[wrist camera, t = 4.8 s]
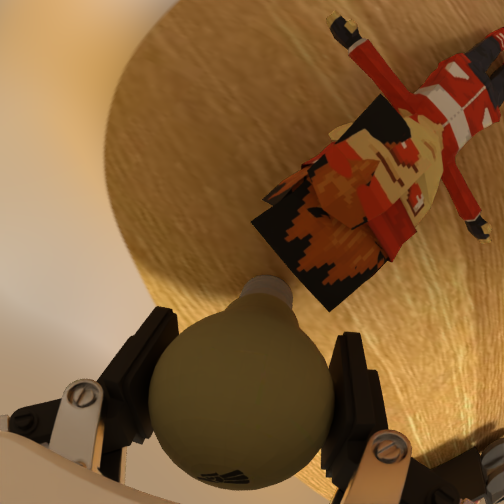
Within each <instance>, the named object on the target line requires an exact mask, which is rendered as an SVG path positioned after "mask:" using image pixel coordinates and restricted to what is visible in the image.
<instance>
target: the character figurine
mask: <svg viewBox="0 0 504 504" xmlns="http://www.w3.org/2000/svg"><path fill="white" fill-rule="evenodd" d="M503 463H504V438H501V439H498V440H496V441H494V442H492V443H491V444H490V445H488V446H487V447H486V448H485V449H484V451H483V452H482V454H481V456H480V454H479V452H478V450H476V448H475V447H474V448H472V449H470V450H468V451H467V452H465V453H463V454H461V455H459V456H457V457H456V458H454V459H452V460H450V461H448V462H446V463H444V464H442V465H440V466H438V467H436V468H434V469H431V471H433V472H434V473H436V474H437V475H439V476H440V477H442V478H443V479H445V480H446V481H448V482H450V483H451V484H452V485H454V486H455V487H456V488H457V490H458V492H459V495H460V498H461V499H462V500H464V499H466V498H467V499H469V500H471V501H473V502H475V503H477V504H479V503H480V501H481V498H483V497H484V498H485V499H486V501H487V503H488V504H493V500H492V495H493V494H494V493H496V492H499V491H501V490H504V465H503V466H501V467H500V468H498V469H497V470H495V471H493V472H491V473H490V474H488V475H487V472H486V469H493V468H496V467H498V466H500V465H502V464H503Z"/></svg>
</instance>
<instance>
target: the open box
mask: <svg viewBox="0 0 504 504" xmlns="http://www.w3.org/2000/svg"><path fill="white" fill-rule="evenodd" d="M503 465H504V463H503V464H502V465H500V466H498V467H496V468H493V469H486V472H487V475H488V474H490V473H491V472H493V471H495V470H497V469H498V468H500V467H501V466H503ZM492 500H493V504H498V503H501V502H503V501H504V490H501V491H499V492H496V493H494V494H493V495H492ZM485 502H486V504H488V503H487V501H486V499H485Z"/></svg>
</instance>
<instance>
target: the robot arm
mask: <svg viewBox="0 0 504 504" xmlns="http://www.w3.org/2000/svg"><path fill="white" fill-rule="evenodd" d="M178 335H179V331H178V321H177V315H176V313H173V311H172V309H170V308H165V307H159V306H157V307H155V309H154V310H153V311H152V313H151V314H150V315H149V316H148V318H147V319H146V320H145V322H144V323H143V324H142V325H141V327H140V328H139V330H138V331H137V332H136V334H135V335H133V336H131V337H129V339H128V340H127V341H126V342H125V344H124V345H123V346H122V348H121V349H120V350H119V352H118V353H117V354H116V356H115V357H114V358H113V360H112V361H111V362H110V364H109V365H108V367H107V368H106V369H105V370H104V372H103V373H102V375H101V376H100V377H99V379H98V380H97V381H94V380H91V379H80V380H76V381H74V382H72V383H71V384H69V385H68V386H67V387H66V389H65V391H64V393H63V396H62V398H61V399H57V400H53V401H49V402H44V403H40V404H36V405H32V406H27V407H23V408H20V409H18V410H16V411H15V412H14V413H13V414H12V416H11V417H9V416H8V415H3V416H0V504H180V503H175V502H172V501H169V500H166V499H163V498H159V497H156V496H153V495H150V494H147V493H145V492H141V491H139V490H136V489H133V488H131V487H128V486H125V471H126V454H127V452H126V451H127V446H130V445H131V443H132V441H133V442H136V443H139V444H143V442H144V440H145V438H147V439H149V438H150V437H151V435H152V433H153V431H154V430H153V428H152V425H151V420H150V414H149V407H148V397H149V386H150V381H151V377H152V374H153V371H154V369H155V366H156V364H157V362H158V360H159V359H160V357H161V355H162V354H163V352H164V351H165V349H166V348H167V347H168V346H169V344H170V343H171V342H172V341H173V340H174V339H175V338H176V337H177V336H178ZM329 372H330V375H331V377H332V380H333V384H334V392H335V410H334V418H333V422H332V425H331V428H330V431H329V434H328V436H327V438H326V441H325V443H324V445H323V446H322V447H321V469H323V470H326V477H329V478H332V483H333V484H334V485H336V486H337V488H336V490H335V493H334V495H333V497H332V499H331V501H330V503H329V504H477V503H475V502H473V501H471V500H469V499H467V498H466V499H464V500H462V499H461V498H460V495H459V492H458V490H457V488H456V487H455V486H454V485H452V484H451V483H450V482H448V481H446V480H445V479H443V478H442V477H440V476H439V475H437V474H436V473H434V472H433V471H431V470H430V469H428V468H427V467H425V466H424V465H423V464H421V463H420V462H418V461H417V460H415V459H414V458H412V457H411V455H412V446H411V443H410V441H409V440H408V438H407V437H406V436H405V435H403V434H402V433H400V432H398V431H395V430H389V429H388V423H387V417H386V412H385V406H384V401H383V395H382V390H381V385H380V380H379V375H378V372H377V371H376V370H368V369H367V365H366V360H365V354H364V349H363V344H362V339H361V335H360V333H355V332H344V333H343V336H342V335H338V337H337V340H336V344H335V347H334V351H333V355H332V358H331V362H330V365H329Z"/></svg>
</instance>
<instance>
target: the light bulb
mask: <svg viewBox="0 0 504 504" xmlns="http://www.w3.org/2000/svg"><path fill="white" fill-rule="evenodd" d="M292 302H293V295H292V291H291V289H290V287H289V286H288V285H287V283H285V282H284V281H283V280H281V279H280V278H278V277H275V276H271V275H260V276H256V277H254V278H252V279H250V280H249V281H248V282H247V283H246V284H245V286H244V288H243V290H242V292H241V294H240V297H239V298H238V299H236V300H235V301H233V302H232V303H231V304H230V305H229V306H228V307H227V308H226V309H225V310H224V311H222V312H219V313H216V314H213V315H211V316H208V317H205V318H204V319H202V320H200V321H198V322H196V323H195V324H193V325H191V326H190V327H188V328H187V329H185V330H184V331H183V332H182V333H181V334H180V335H178V336H177V337H176V338H175V339H174V340H173V341H172V342H171V343H170V344H169V346H168V347H167V348H166V349H165V351H164V352H163V354H162V355H161V357H160V359H159V360H158V362H157V364H156V366H155V369H154V371H153V374H152V377H151V381H150V386H149V397H148V407H149V414H150V420H151V425H152V428H153V430H154V433H155V435H156V437H157V439H158V441H159V443H160V445H161V447H162V449H163V450H164V451H165V453H166V454H167V455H168V456H169V458H170V459H171V460H172V461H173V462H174V463H175V464H176V465H177V466H178V467H179V468H181V469H182V470H183V471H185V472H186V473H187V474H189V475H190V476H191V477H193V478H195V479H197V480H199V481H201V482H203V483H205V484H208V485H211V486H214V487H218V488H223V489H229V490H256V489H260V488H264V487H268V486H271V485H274V484H277V483H280V482H282V481H284V480H286V479H288V478H290V477H291V476H293V475H294V474H296V473H297V472H299V471H300V470H301V469H303V468H304V467H305V466H307V465H308V464H309V462H310V461H311V460H312V459H313V458H314V456H315V455H316V454H317V453H318V451H319V450H320V449H321V447H322V446H323V445H324V443H325V441H326V438H327V436H328V434H329V431H330V428H331V425H332V422H333V418H334V410H335V392H334V384H333V380H332V377H331V375H330V372H329V369H328V366H327V364H326V361H325V359H324V357H323V356H322V354H321V353H320V351H319V350H318V348H317V347H316V345H315V344H314V343H313V341H312V340H311V339H310V338H309V337H308V336H307V335H306V334H305V333H304V332H303V331H302V330H301V329H300V328H299V324H298V321H297V318H296V316H295V314H294V312H293V311H292Z"/></svg>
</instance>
